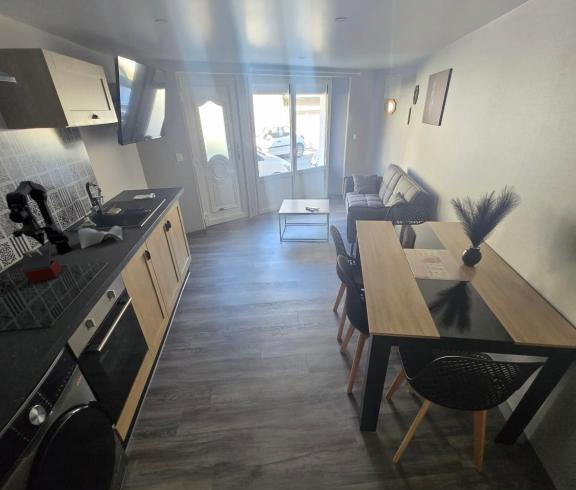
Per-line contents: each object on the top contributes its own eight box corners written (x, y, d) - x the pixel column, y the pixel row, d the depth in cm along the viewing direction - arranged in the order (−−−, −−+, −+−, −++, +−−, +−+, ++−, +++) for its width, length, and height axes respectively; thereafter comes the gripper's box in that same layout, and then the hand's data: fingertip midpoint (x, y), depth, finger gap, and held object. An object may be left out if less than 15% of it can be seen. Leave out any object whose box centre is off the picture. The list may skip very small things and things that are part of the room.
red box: (37, 274, 164) (31, 263, 160) (62, 269, 166) (56, 259, 163) (30, 282, 155) (23, 272, 152) (56, 277, 158) (50, 267, 154)
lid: (24, 254, 156) (16, 248, 151) (50, 249, 159) (44, 243, 154) (23, 271, 152) (15, 266, 147) (50, 267, 154) (43, 261, 150)
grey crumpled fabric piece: (126, 232, 210) (121, 219, 205) (123, 242, 195) (117, 227, 190) (87, 239, 204) (81, 225, 199) (81, 249, 189) (74, 235, 184)
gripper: (0, 225, 148) (18, 253, 156) (42, 219, 152) (57, 247, 160) (9, 218, 156) (26, 246, 165) (49, 213, 160) (63, 240, 169)
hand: (43, 245), depth 165 cm, fingers closed
